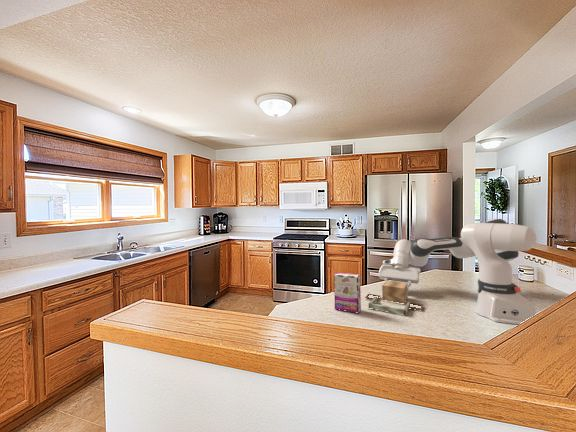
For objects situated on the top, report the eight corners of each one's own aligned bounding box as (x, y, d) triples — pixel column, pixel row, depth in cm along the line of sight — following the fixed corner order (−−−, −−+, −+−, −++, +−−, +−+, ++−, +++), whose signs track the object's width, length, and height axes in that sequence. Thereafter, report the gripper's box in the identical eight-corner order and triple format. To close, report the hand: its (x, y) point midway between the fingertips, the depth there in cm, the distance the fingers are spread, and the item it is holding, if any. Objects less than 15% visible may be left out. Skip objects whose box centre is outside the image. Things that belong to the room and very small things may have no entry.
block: (407, 298, 138) (407, 282, 137) (404, 304, 129) (404, 288, 129) (386, 295, 143) (386, 280, 143) (382, 301, 135) (382, 285, 134)
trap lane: (423, 304, 128) (423, 299, 128) (418, 318, 114) (418, 312, 114) (368, 295, 142) (368, 291, 142) (357, 307, 128) (357, 301, 127)
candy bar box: (361, 309, 124) (360, 274, 123) (358, 313, 120) (358, 277, 119) (337, 306, 129) (337, 272, 129) (334, 309, 125) (333, 274, 124)
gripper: (421, 270, 146) (419, 293, 138) (382, 266, 157) (378, 288, 149) (420, 264, 142) (417, 287, 134) (380, 260, 153) (375, 282, 145)
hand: (396, 287), depth 142 cm, fingers open, 8 cm apart
